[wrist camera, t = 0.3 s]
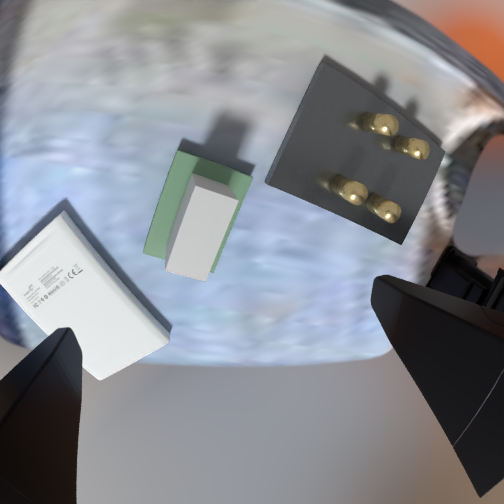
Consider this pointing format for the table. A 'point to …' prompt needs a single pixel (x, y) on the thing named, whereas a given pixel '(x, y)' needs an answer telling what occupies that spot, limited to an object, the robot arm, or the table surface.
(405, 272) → the table surface
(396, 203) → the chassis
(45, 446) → the robot arm
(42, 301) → the external hard drive
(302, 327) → the table surface
